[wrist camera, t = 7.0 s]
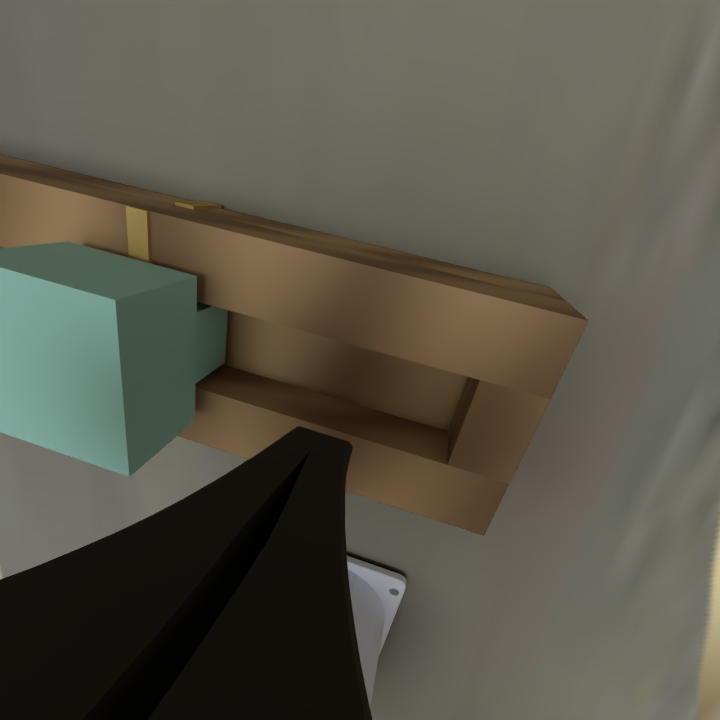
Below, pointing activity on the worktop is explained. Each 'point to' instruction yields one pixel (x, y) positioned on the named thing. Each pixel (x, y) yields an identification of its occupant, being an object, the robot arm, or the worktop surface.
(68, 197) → the slotted wooden block
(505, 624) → the worktop surface
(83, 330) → the block
